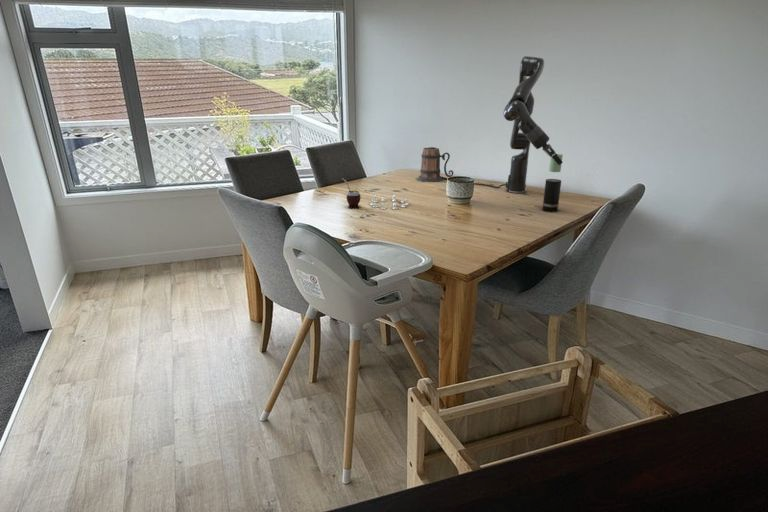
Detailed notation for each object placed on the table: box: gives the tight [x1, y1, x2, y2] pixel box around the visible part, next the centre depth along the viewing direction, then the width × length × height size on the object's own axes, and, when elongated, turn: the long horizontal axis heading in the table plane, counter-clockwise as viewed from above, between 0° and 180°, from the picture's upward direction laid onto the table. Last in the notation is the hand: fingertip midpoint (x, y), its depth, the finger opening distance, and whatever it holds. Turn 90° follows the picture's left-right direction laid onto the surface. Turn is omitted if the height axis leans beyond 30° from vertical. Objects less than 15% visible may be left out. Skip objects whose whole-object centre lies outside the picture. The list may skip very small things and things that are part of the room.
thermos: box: [542, 178, 562, 213], centre depth 233 cm, size 7×7×15 cm
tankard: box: [416, 146, 454, 183], centre depth 305 cm, size 24×17×20 cm
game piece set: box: [369, 193, 410, 210], centre depth 245 cm, size 19×20×4 cm
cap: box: [548, 153, 563, 173], centre depth 228 cm, size 5×5×8 cm
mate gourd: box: [341, 177, 361, 209], centre depth 238 cm, size 8×8×15 cm
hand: (559, 162), depth 228 cm, fingers closed on cap, 5 cm apart
